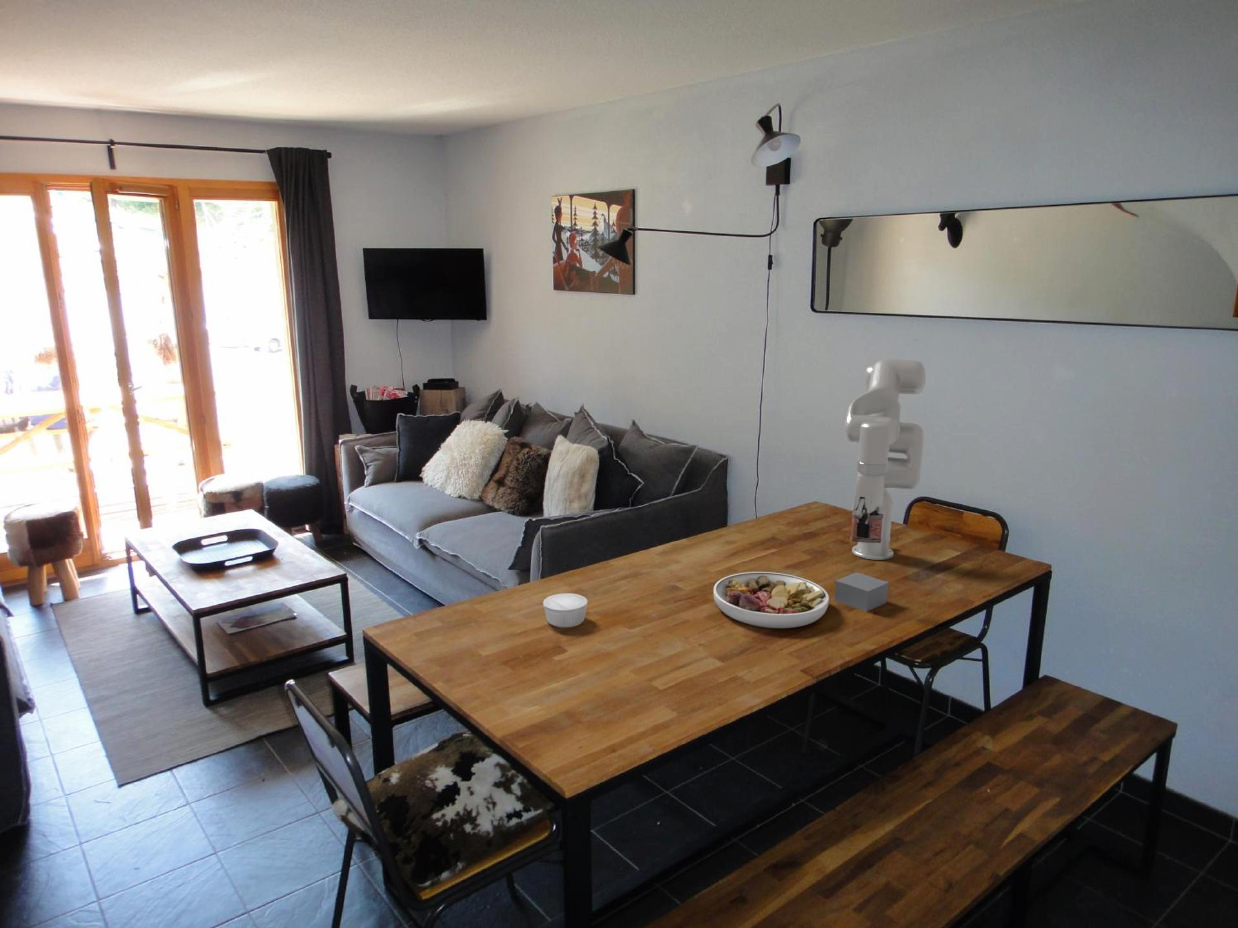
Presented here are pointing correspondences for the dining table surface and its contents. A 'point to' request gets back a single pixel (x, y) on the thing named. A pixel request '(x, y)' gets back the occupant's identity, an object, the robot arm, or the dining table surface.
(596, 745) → the dining table surface
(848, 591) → the gray block
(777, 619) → the bowl
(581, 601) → the ramekin
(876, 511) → the lighter
